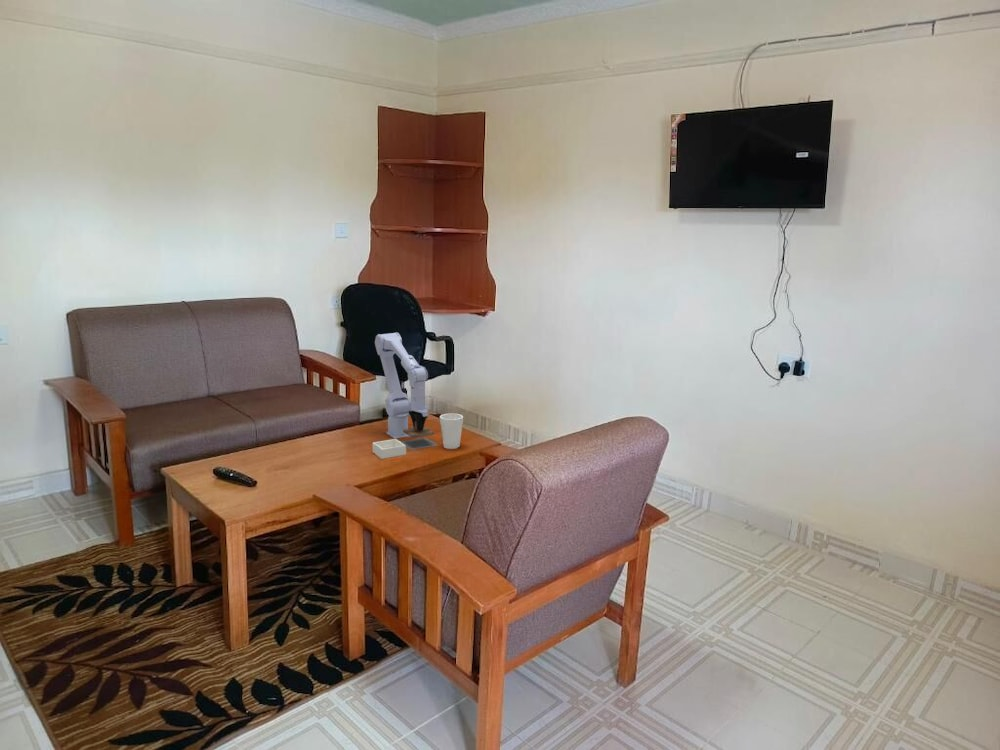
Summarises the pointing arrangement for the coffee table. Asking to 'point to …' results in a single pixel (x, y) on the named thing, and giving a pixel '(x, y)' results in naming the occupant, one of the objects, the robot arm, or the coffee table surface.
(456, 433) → the foam cup
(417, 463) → the coffee table surface
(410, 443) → the mat
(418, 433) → the lid
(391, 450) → the white open box
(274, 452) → the coffee table surface
